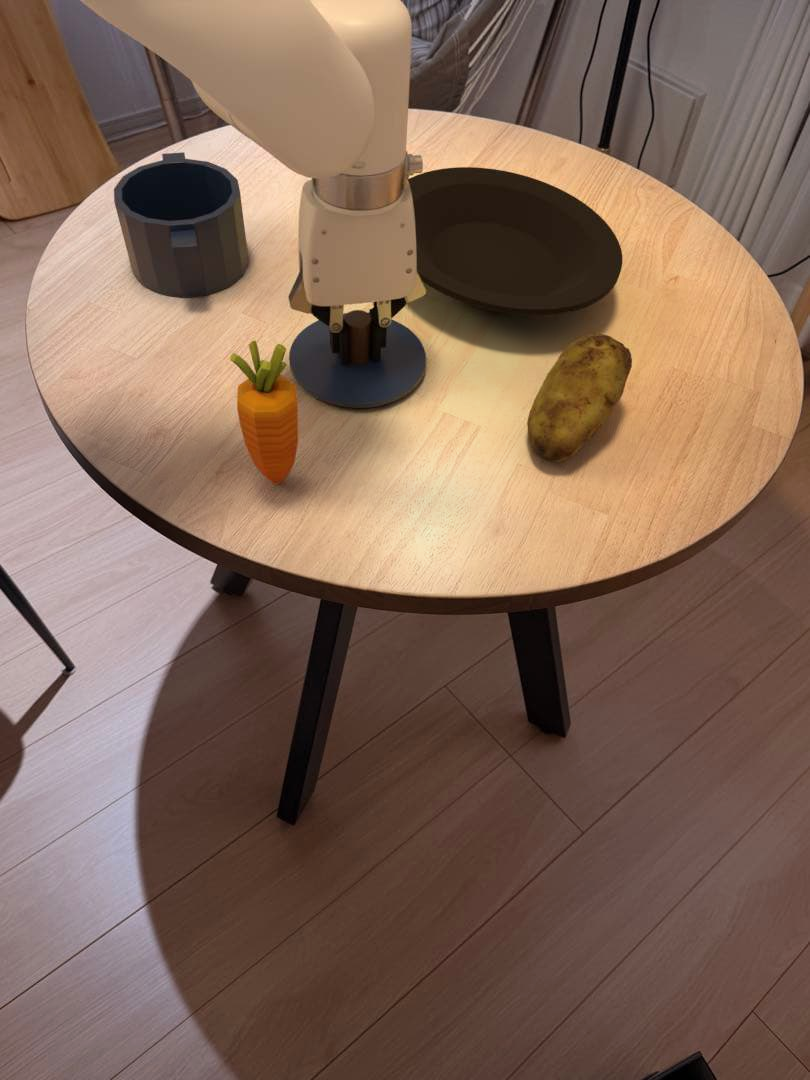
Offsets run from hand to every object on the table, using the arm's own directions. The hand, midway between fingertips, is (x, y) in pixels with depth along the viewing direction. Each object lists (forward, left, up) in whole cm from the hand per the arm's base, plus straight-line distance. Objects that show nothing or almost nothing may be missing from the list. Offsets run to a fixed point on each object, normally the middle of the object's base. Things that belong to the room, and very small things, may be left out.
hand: (357, 352), depth 78 cm
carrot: (-10, -14, -2) cm, 17 cm away
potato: (+18, -12, -2) cm, 22 cm away
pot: (-15, +20, -2) cm, 25 cm away
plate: (+18, +12, -2) cm, 22 cm away
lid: (0, 0, -1) cm, 1 cm away
